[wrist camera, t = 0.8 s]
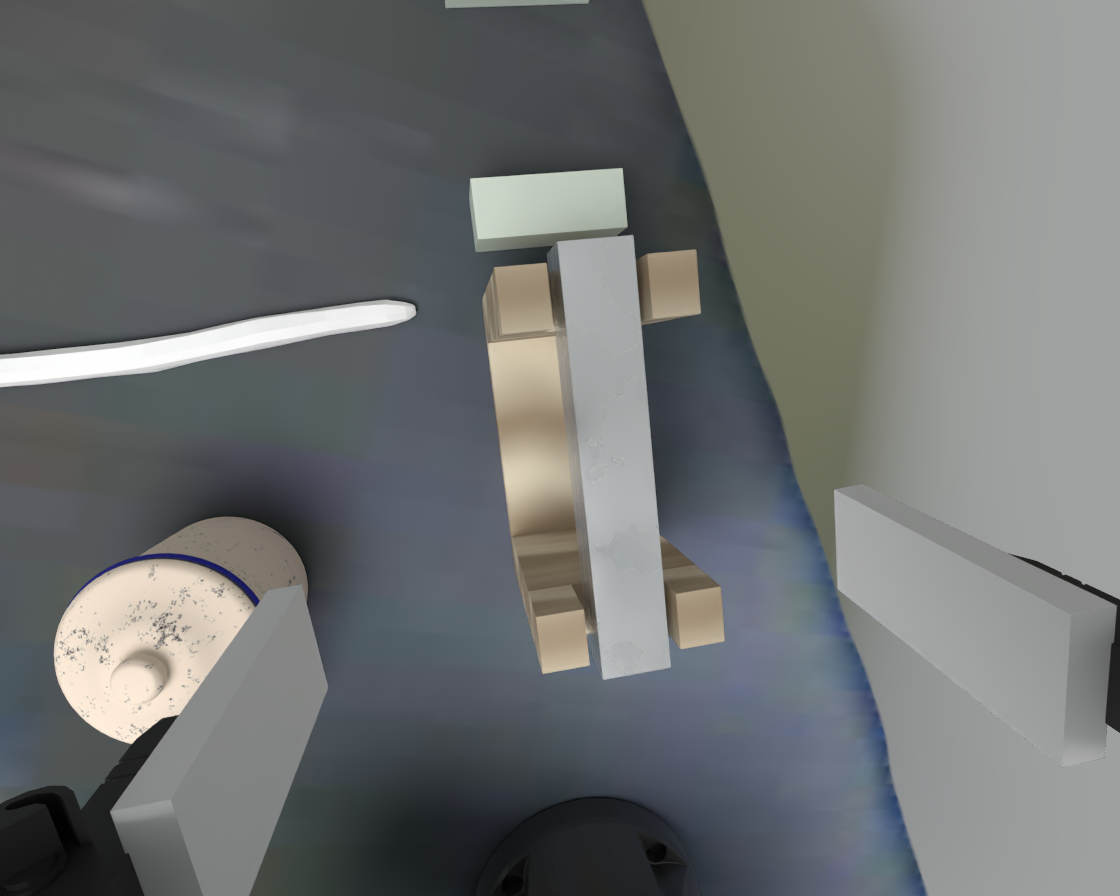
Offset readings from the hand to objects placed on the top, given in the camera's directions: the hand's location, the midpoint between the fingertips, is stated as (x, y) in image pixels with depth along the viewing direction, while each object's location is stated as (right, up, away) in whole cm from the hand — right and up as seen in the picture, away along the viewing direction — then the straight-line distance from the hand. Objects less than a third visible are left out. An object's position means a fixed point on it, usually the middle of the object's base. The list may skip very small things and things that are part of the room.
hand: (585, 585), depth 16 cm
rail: (+1, +3, +13) cm, 14 cm away
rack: (0, +4, +24) cm, 24 cm away
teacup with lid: (-19, -6, +22) cm, 30 cm away
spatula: (-23, +10, +20) cm, 32 cm away
